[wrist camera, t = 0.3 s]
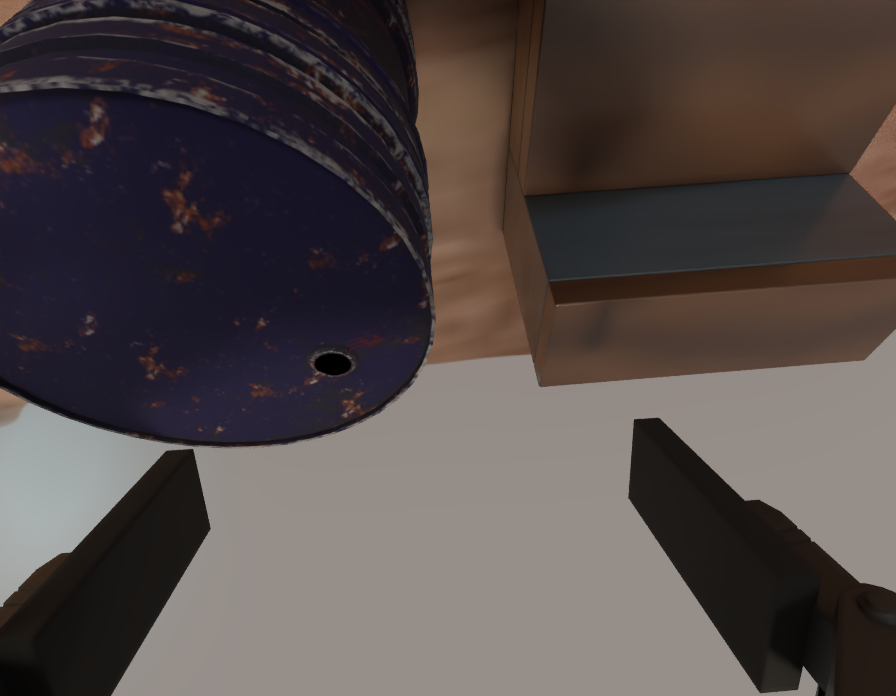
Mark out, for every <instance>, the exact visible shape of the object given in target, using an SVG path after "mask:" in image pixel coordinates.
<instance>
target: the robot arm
mask: <svg viewBox="0 0 896 696" xmlns="http://www.w3.org/2000/svg"><path fill="white" fill-rule="evenodd" d="M628 498H629V499H630V501H631V502H632V504H633V505H634V507H635V508H636V510H637V511H638V513H639V514H640V516H641V517H642V519H643V520H644V522H645V523H646V525H647V526H648V528H649V529H650V530H651V532H652V534H653V535H654V536H655V538H656V539H657V541H658V542H659V544H660V545H661V547H662V548H663V550H664V551H665V553H666V554H667V556H668V557H669V559H670V560H671V562H672V563H673V565H674V566H675V568H676V569H677V571H678V572H679V573H680V575H681V577H682V578H683V580H684V581H685V582H686V584H687V585H688V587H689V588H690V590H691V591H692V593H693V594H694V596H695V597H696V599H697V600H698V602H699V603H700V605H701V606H702V608H703V609H704V611H705V612H706V614H707V615H708V617H709V618H710V620H711V621H712V623H713V624H714V625H715V627H716V628H717V630H718V631H719V633H720V634H721V636H722V637H723V639H724V640H725V642H726V643H727V645H728V646H729V648H730V649H731V651H732V652H733V654H734V655H735V657H736V658H737V660H738V661H739V662H740V664H741V666H742V667H743V668H744V670H745V671H746V673H747V674H748V676H749V677H750V679H751V680H752V682H753V683H754V685H755V686H756V688H757V689H758V691H759V692H760V693H767V692H778V691H789V690H798V686H799V682H800V677H801V673H802V668H803V666H804V667H805V668H806V670H807V671H808V672H809V674H810V675H811V676H812V677H813V679H814V680H815V681H816V682H817V683H818V687H817V691H816V696H896V593H895V592H893V591H890V590H888V589H885V588H883V587H879V586H875V585H871V584H866V583H859V582H858V581H857V580H856V579H855V578H854V577H853V576H852V575H851V574H849V573H848V572H847V571H846V570H845V569H844V568H843V567H842V566H841V565H839V564H838V563H837V562H836V561H835V560H834V559H833V558H832V557H830V556H829V555H828V554H827V553H826V552H825V551H824V550H823V549H821V547H819V546H818V545H817V544H816V543H815V542H811V540H810V539H811V538H809V537H808V536H807V535H806V534H805V533H804V532H803V531H802V530H800V529H798V528H797V526H796V525H795V524H794V523H793V522H792V521H790V520H789V519H788V518H787V517H786V516H785V515H784V514H783V513H782V512H780V511H779V510H776V509H775V508H773V507H771V506H769V505H767V504H766V503H764V502H761V501H760V500H751V501H744V499H742V498H741V497H740V496H739V495H738V494H737V493H736V492H735V491H734V490H733V489H732V488H731V487H730V486H729V485H728V484H727V483H726V482H725V481H724V480H723V479H722V478H721V477H720V476H719V475H718V474H717V473H716V472H714V471H713V470H712V469H711V468H710V467H709V466H708V465H707V464H706V463H705V462H704V461H703V460H702V459H701V458H700V457H699V456H698V455H697V454H696V453H695V452H694V451H693V450H692V449H691V448H690V447H689V446H688V445H686V444H685V443H684V442H683V441H682V440H681V439H680V438H679V437H678V436H677V435H676V434H675V433H674V432H673V431H672V430H671V429H670V428H669V427H668V426H667V425H666V424H665V423H664V422H663V421H662V420H661V419H659V418H648V419H635V420H634V428H633V441H632V455H631V470H630V483H629V497H628ZM210 529H211V528H210V524H209V519H208V514H207V510H206V505H205V501H204V496H203V492H202V487H201V483H200V478H199V473H198V469H197V464H196V460H195V455H194V451H193V449H188V450H187V449H186V450H172V451H166V452H165V453H164V454H163V455H162V456H161V457H160V458H159V459H158V460H157V462H156V463H155V464H154V465H153V466H152V467H151V468H150V469H149V470H148V471H147V472H146V473H145V474H144V475H143V477H141V479H140V480H139V481H138V482H137V483H136V484H135V485H134V486H133V487H132V488H131V489H130V490H129V491H128V492H127V493H126V495H125V496H124V497H123V498H122V499H121V500H120V501H119V502H118V503H117V504H116V505H115V507H113V508H112V510H111V511H110V512H109V513H108V514H107V515H106V516H105V517H104V518H103V519H102V520H101V521H100V522H99V523H98V525H97V526H96V527H95V528H94V529H93V530H92V531H91V532H90V533H89V534H88V535H87V536H86V537H85V538H84V539H83V541H82V542H81V543H80V544H79V545H78V546H77V547H76V548H75V549H74V550H73V551H72V552H71V553H61V554H60V555H58V556H56V557H55V558H53V559H52V560H50V561H49V562H47V563H46V564H44V565H43V566H41V567H40V568H38V569H37V570H36V571H35V572H34V573H33V574H32V575H31V576H30V577H29V578H28V579H27V580H26V581H25V582H24V583H23V584H22V585H21V586H20V587H19V589H18V591H17V592H14V593H13V594H12V595H11V596H10V597H9V598H8V599H7V600H6V601H5V602H4V605H3V607H0V696H111V695H112V693H113V691H114V689H115V688H116V686H117V684H118V683H119V681H120V680H121V678H122V676H123V674H124V673H125V671H126V670H127V668H128V666H129V665H130V663H131V661H132V659H133V658H134V656H135V654H136V653H137V651H138V649H139V648H140V646H141V644H142V643H143V641H144V639H145V638H146V636H147V634H148V633H149V631H150V629H151V627H152V626H153V624H154V623H155V621H156V619H157V618H158V616H159V614H160V613H161V611H162V609H163V608H164V606H165V604H166V602H167V601H168V599H169V598H170V596H171V594H172V592H173V591H174V589H175V587H176V586H177V584H178V582H179V581H180V579H181V577H182V576H183V574H184V572H185V571H186V569H187V567H188V566H189V564H190V562H191V561H192V559H193V557H194V556H195V554H196V552H197V551H198V548H199V547H200V546H201V544H202V542H203V540H204V539H205V537H206V536H207V534H208V532H209V531H210Z"/></svg>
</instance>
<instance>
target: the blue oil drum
mask: <svg viewBox="0 0 896 696" xmlns="http://www.w3.org/2000/svg"><path fill="white" fill-rule="evenodd" d="M418 96H419V89H418V80H417V70H416V62H415V51H414V41H413V36H412V31H411V27H410V23H409V19H408V13H407V7H406V3H405V0H31V1H30V2H29V3H28V4H27V5H26V6H25V7H24V8H23V9H22V10H21V11H19V12H17V13H16V14H15V15H14V16H13V17H12V18H11V19H9V20H8V21H7V22H5V23H4V24H3V25H2V26H1V27H0V388H1V389H3V390H5V391H7V392H9V393H11V394H13V395H15V396H17V397H19V398H21V399H23V400H25V401H27V402H29V403H31V404H34V405H36V406H39V407H41V408H44V409H46V410H48V411H51V412H53V413H56V414H58V415H61V416H63V417H66V418H69V419H72V420H75V421H78V422H81V423H84V424H87V425H90V426H93V427H96V428H99V429H103V430H107V431H111V432H115V433H119V434H123V435H127V436H131V437H135V438H141V439H146V440H151V441H157V442H163V443H170V444H178V445H186V446H195V447H213V448H257V447H268V446H278V445H286V444H292V443H297V442H303V441H308V440H312V439H316V438H320V437H323V436H327V435H331V434H334V433H337V432H340V431H342V430H345V429H347V428H350V427H353V426H355V425H357V424H360V423H361V422H363V421H365V420H367V419H369V418H371V417H373V416H374V415H376V414H378V413H380V412H381V411H382V410H384V409H385V408H387V407H388V406H389V405H391V404H392V403H393V402H395V401H396V400H397V399H398V398H399V397H400V396H401V395H402V394H403V393H404V392H405V391H406V390H407V389H408V388H409V387H410V386H411V385H412V384H413V382H414V381H415V379H416V378H417V376H418V375H419V373H420V372H421V370H422V369H423V367H424V366H425V363H426V361H427V358H428V356H429V353H430V350H431V348H432V345H433V338H434V331H435V323H436V319H435V308H434V297H433V287H432V277H431V264H430V262H431V252H432V243H433V235H432V224H431V213H430V203H429V193H428V189H429V186H428V175H427V164H426V158H425V154H424V151H423V147H422V143H421V140H420V136H419V132H418V130H417V128H416V126H415V123H416V119H417V114H418Z"/></svg>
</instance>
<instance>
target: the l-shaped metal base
mask: <svg viewBox="0 0 896 696" xmlns="http://www.w3.org/2000/svg"><path fill="white" fill-rule="evenodd" d="M895 104H896V0H520V5H519V18H518V32H517V46H516V59H515V73H514V86H513V100H512V114H511V127H510V141H509V146H510V147H509V154H508V168H507V181H506V195H505V209H504V222H503V235H504V239H505V243H506V248H507V252H508V256H509V260H510V265H511V269H512V273H513V278H514V282H515V286H516V290H517V295H518V299H519V303H520V307H521V312H522V316H523V320H524V325H525V329H526V333H527V337H528V342H529V346H530V350H531V355H532V359H533V362H534V367H535V372H536V376H537V380H538V384H539V386H540V387H547V386H557V385H570V384H582V383H595V382H607V381H618V380H631V379H643V378H655V377H668V376H679V375H691V374H703V373H715V372H728V371H740V370H752V369H763V368H776V367H788V366H800V365H813V364H824V363H837V362H849V361H860V360H865V359H866V358H867V357H868V356H869V355H870V354H871V353H872V352H873V351H874V350H875V349H876V348H877V347H878V346H879V345H880V344H881V343H882V342H883V341H884V340H885V339H886V338H887V337H888V336H889V335H890V334H891V333H892V332H893V331H894V330H895V329H896V220H895V219H894V218H893V217H892V216H891V215H890V214H889V213H888V212H887V211H886V210H885V209H884V208H883V207H882V206H881V205H880V204H879V203H878V202H877V201H876V200H875V199H874V198H873V197H872V196H871V195H870V194H869V193H868V192H867V191H866V190H865V189H864V188H863V187H862V186H861V185H860V184H859V183H858V182H857V181H856V180H855V179H854V178H853V177H852V176H851V175H850V174H849V173H850V172H851V171H852V170H853V168H854V167H855V165H856V164H857V162H858V161H859V159H860V158H861V156H862V154H863V153H864V151H865V150H866V148H867V147H868V145H869V144H870V142H871V141H872V139H873V138H874V136H875V135H876V133H877V132H878V130H879V129H880V127H881V126H882V124H883V123H884V121H885V120H886V118H887V116H888V115H889V113H890V112H891V110H892V109H893V107H894V106H895Z"/></svg>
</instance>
